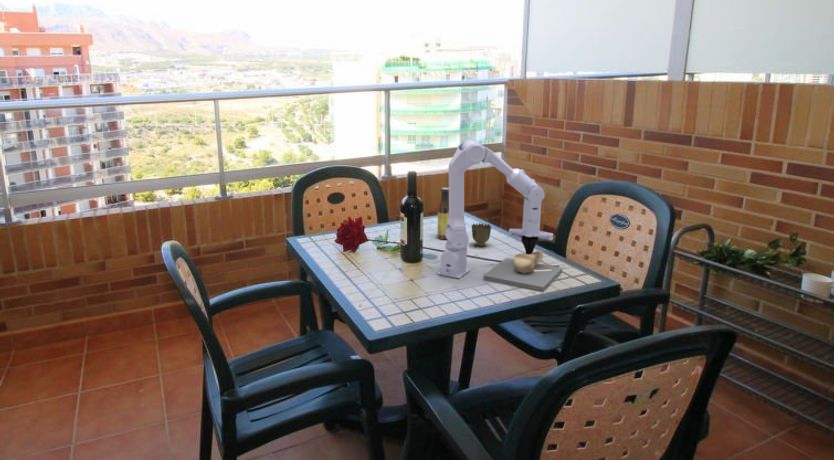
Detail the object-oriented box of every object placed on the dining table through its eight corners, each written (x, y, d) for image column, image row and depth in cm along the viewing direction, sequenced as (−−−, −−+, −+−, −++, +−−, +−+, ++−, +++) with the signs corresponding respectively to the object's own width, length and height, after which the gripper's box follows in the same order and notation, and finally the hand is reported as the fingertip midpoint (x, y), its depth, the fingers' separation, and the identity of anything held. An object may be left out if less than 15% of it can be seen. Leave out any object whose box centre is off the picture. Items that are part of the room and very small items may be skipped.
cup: (491, 248, 229) (492, 228, 227) (471, 248, 229) (472, 228, 227) (489, 242, 236) (490, 222, 234) (470, 242, 236) (471, 222, 234)
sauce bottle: (452, 240, 238) (453, 190, 232) (436, 239, 239) (436, 190, 234) (454, 235, 244) (455, 187, 238) (438, 234, 245) (439, 186, 240)
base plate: (543, 291, 189) (543, 285, 189) (483, 279, 199) (483, 273, 198) (562, 271, 206) (562, 266, 206) (506, 261, 216) (506, 256, 215)
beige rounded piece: (526, 273, 197) (526, 261, 196) (510, 268, 202) (510, 257, 201) (548, 264, 206) (549, 252, 205) (532, 259, 210) (533, 248, 209)
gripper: (507, 219, 203) (505, 258, 207) (551, 224, 198) (548, 264, 202) (512, 214, 209) (510, 252, 213) (555, 219, 204) (552, 257, 208)
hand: (529, 257), depth 208 cm, fingers closed
